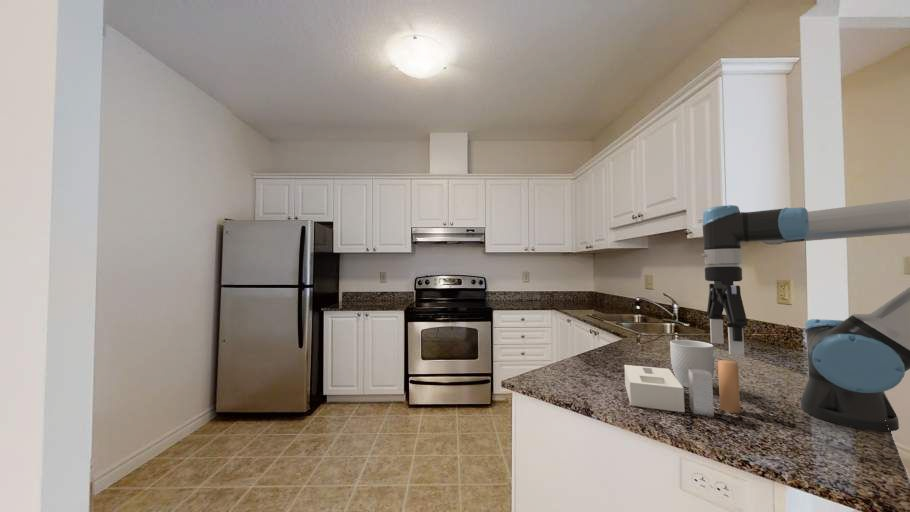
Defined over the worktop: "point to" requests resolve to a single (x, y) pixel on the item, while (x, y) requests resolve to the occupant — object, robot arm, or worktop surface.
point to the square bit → (701, 392)
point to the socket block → (654, 388)
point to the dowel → (729, 386)
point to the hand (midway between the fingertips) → (726, 348)
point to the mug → (692, 359)
